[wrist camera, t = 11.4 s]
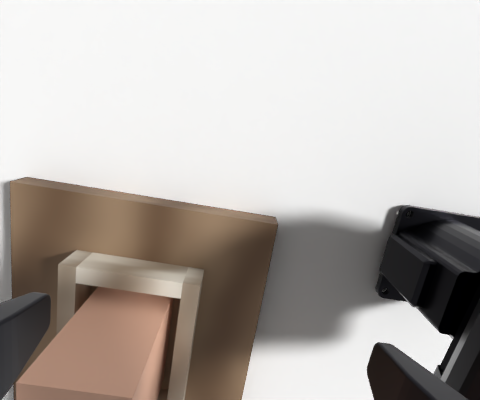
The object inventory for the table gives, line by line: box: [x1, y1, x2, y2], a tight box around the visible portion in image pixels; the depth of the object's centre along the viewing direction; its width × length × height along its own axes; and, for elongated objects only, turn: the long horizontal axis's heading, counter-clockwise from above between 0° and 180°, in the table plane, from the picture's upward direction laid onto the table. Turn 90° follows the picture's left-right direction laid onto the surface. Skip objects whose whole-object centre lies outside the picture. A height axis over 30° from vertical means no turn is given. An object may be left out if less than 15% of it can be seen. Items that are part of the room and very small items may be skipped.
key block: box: [16, 286, 173, 400], centre depth 17 cm, size 7×4×8 cm, turn 171°
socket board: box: [10, 177, 278, 400], centre depth 20 cm, size 16×18×4 cm
